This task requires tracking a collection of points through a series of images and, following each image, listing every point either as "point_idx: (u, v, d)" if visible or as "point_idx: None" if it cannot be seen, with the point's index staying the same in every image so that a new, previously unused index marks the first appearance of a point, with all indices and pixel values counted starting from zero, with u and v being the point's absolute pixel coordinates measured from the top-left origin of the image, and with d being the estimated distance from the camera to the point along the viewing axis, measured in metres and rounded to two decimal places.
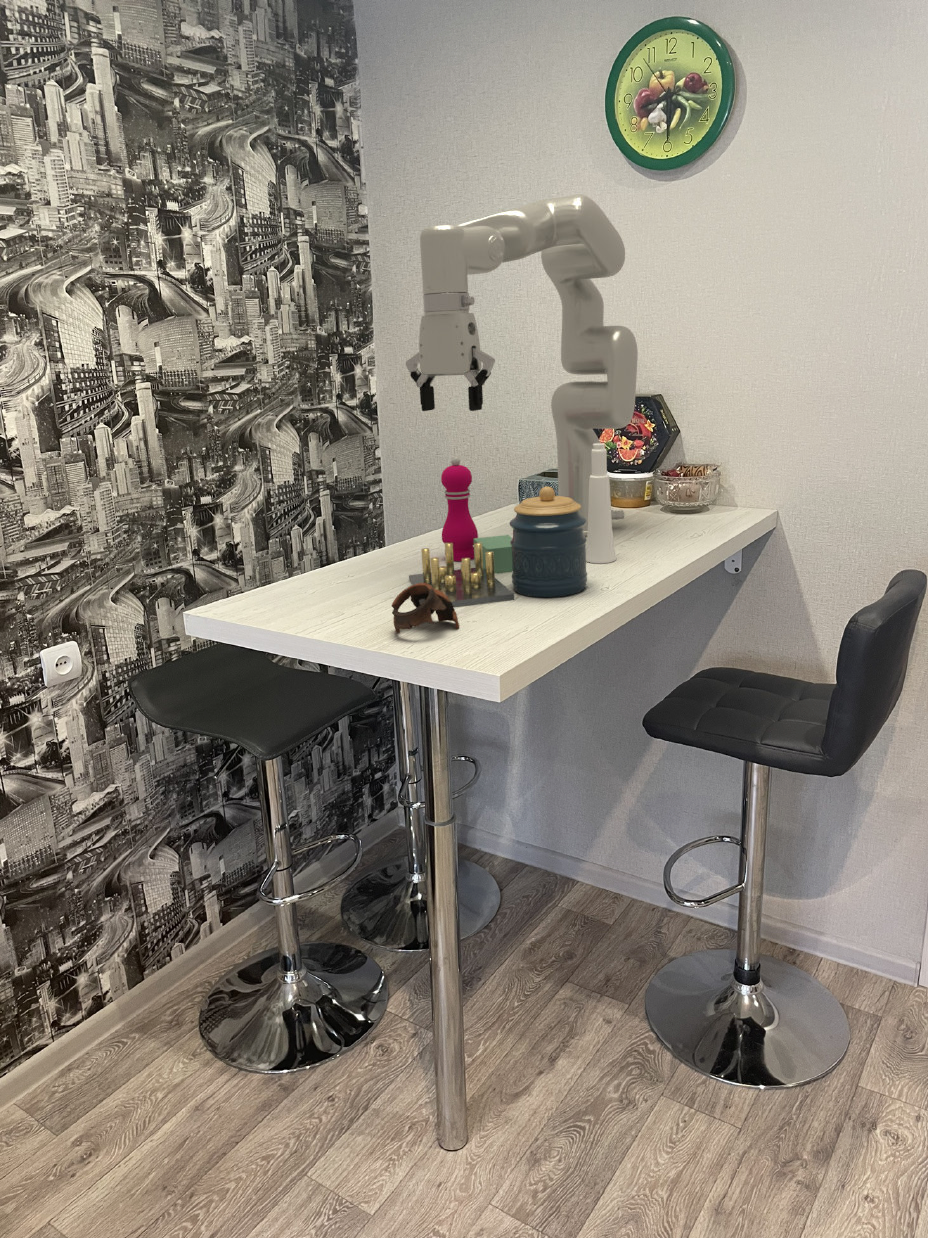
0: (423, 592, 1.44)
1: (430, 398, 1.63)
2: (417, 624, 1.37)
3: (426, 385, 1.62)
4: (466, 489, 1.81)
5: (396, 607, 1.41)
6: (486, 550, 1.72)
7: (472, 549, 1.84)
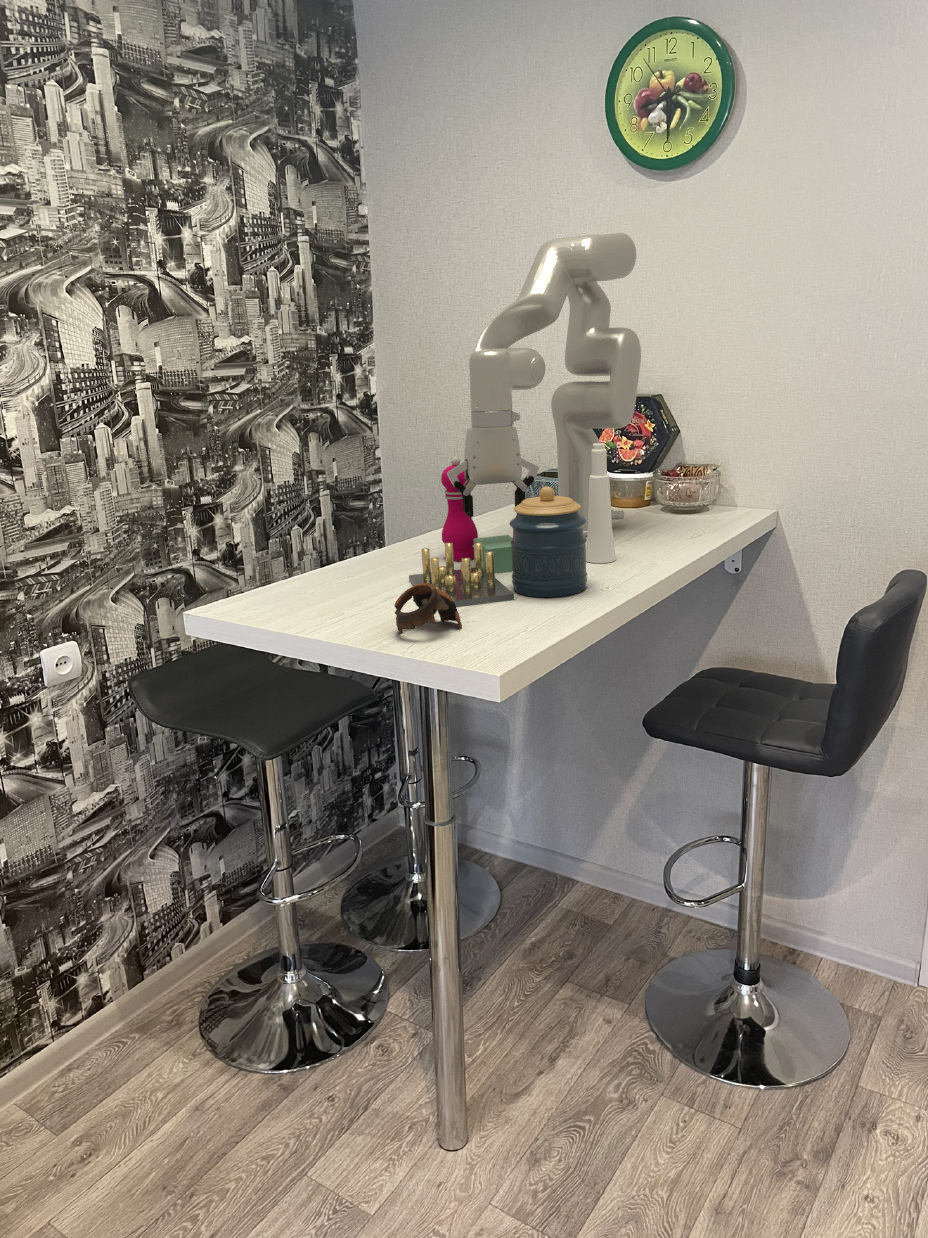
0: (426, 592, 1.44)
1: None
2: (420, 624, 1.37)
3: (470, 493, 1.72)
4: None
5: (399, 607, 1.41)
6: (486, 550, 1.72)
7: (472, 549, 1.84)
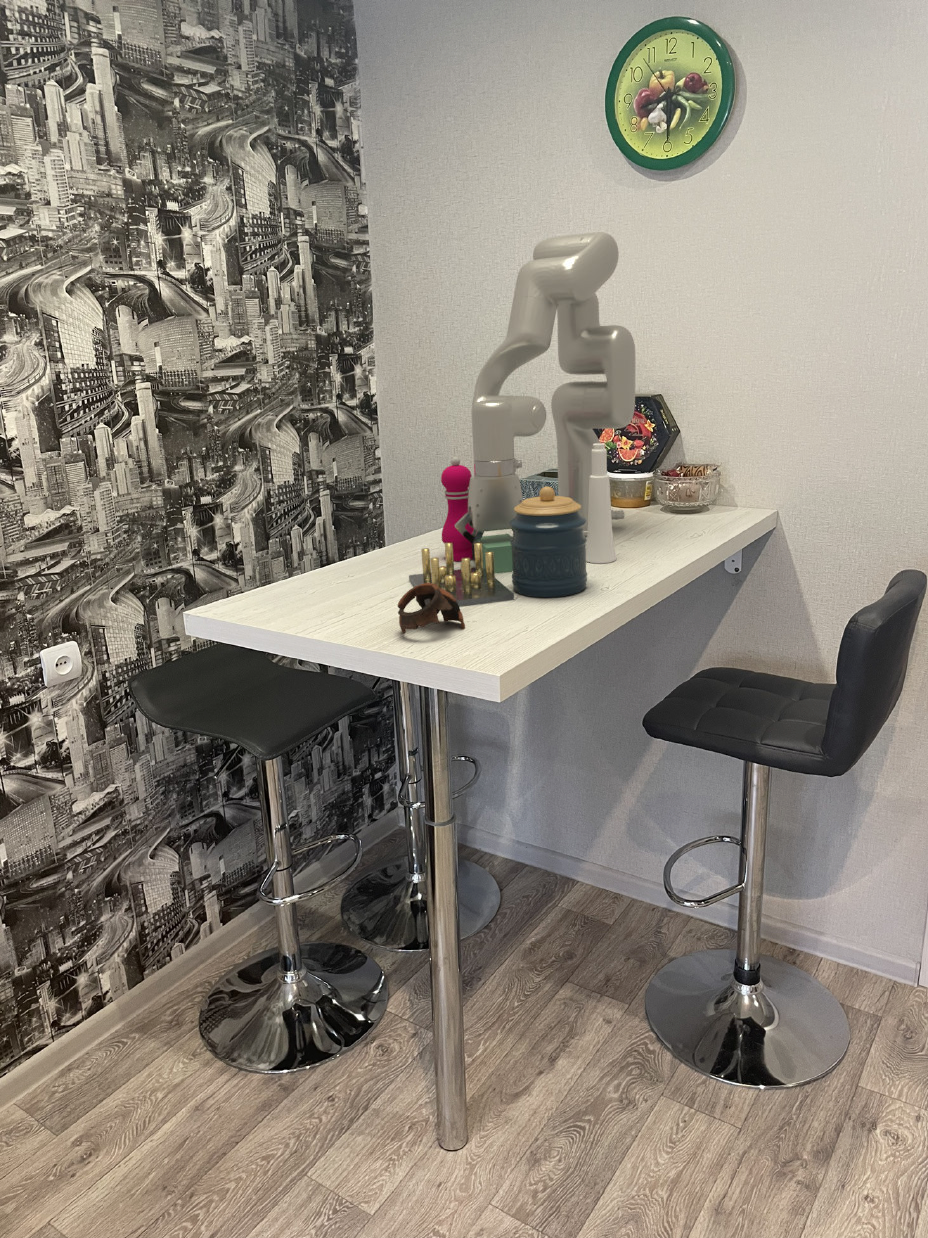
0: (428, 592, 1.43)
1: None
2: (423, 624, 1.37)
3: None
4: (466, 489, 1.81)
5: (402, 607, 1.41)
6: (486, 549, 1.72)
7: None
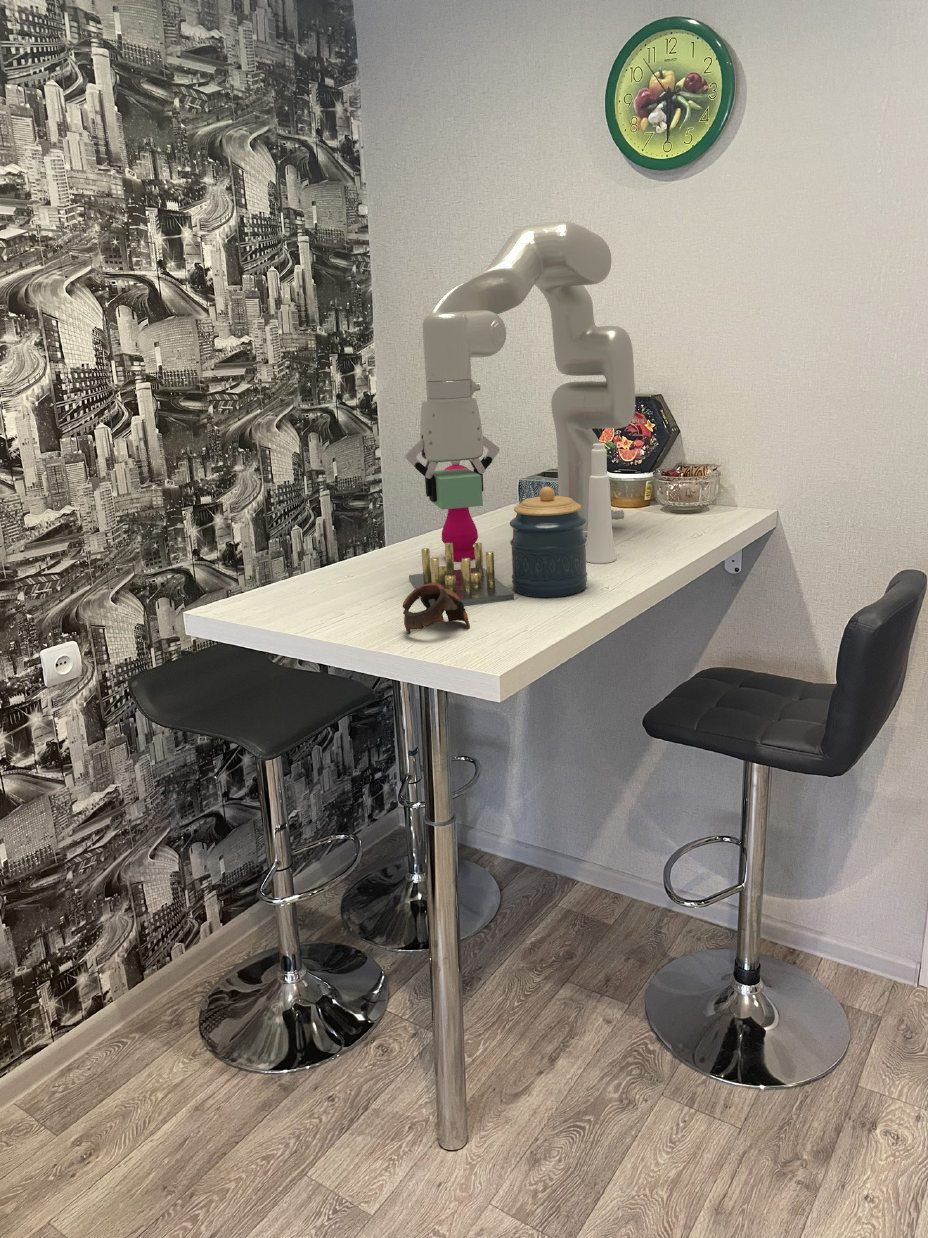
0: (433, 592, 1.43)
1: None
2: (429, 624, 1.37)
3: (433, 475, 1.57)
4: None
5: (407, 607, 1.41)
6: (439, 481, 1.53)
7: (472, 549, 1.84)
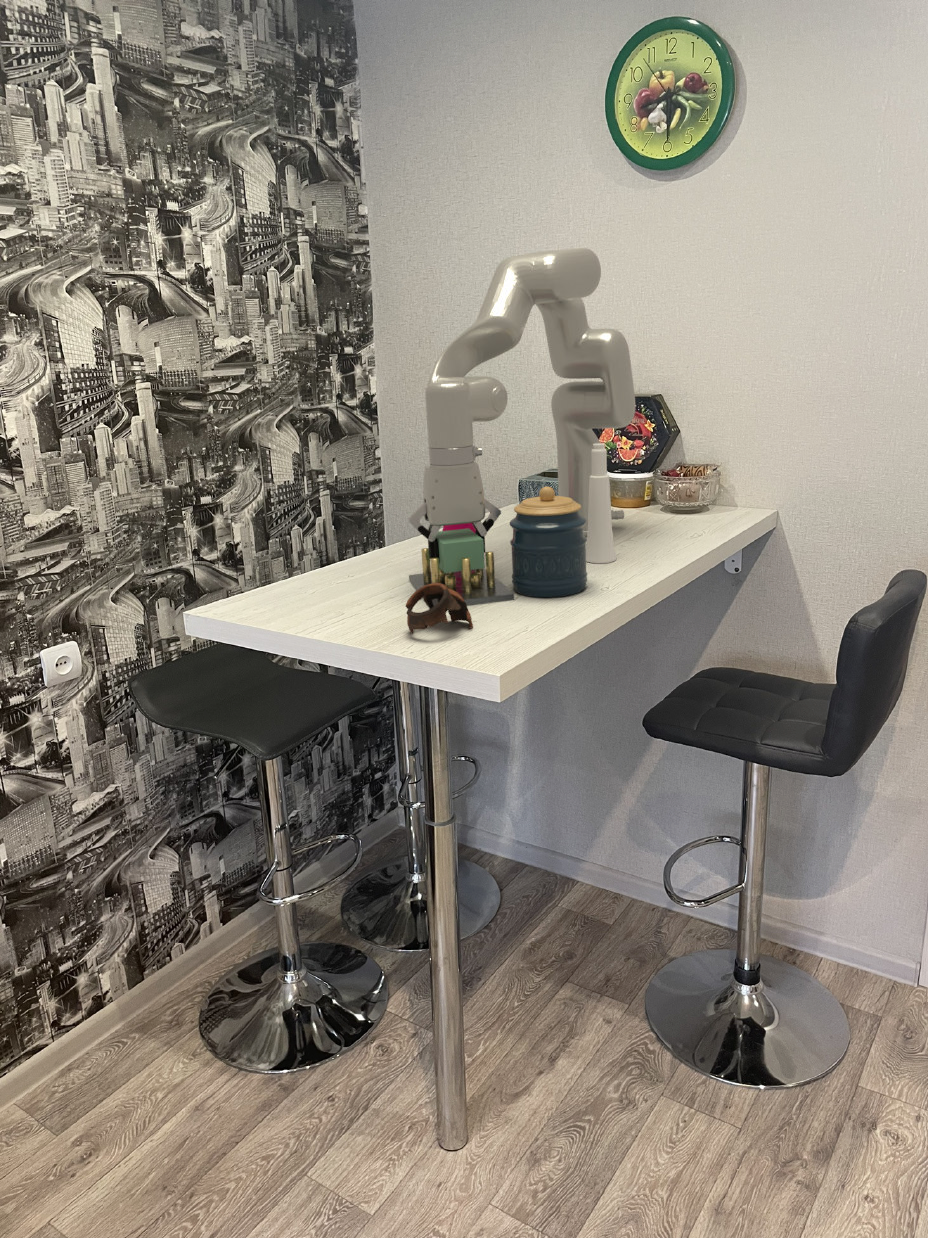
0: (436, 592, 1.43)
1: None
2: (432, 624, 1.37)
3: (435, 538, 1.60)
4: None
5: (410, 607, 1.41)
6: (442, 545, 1.56)
7: None
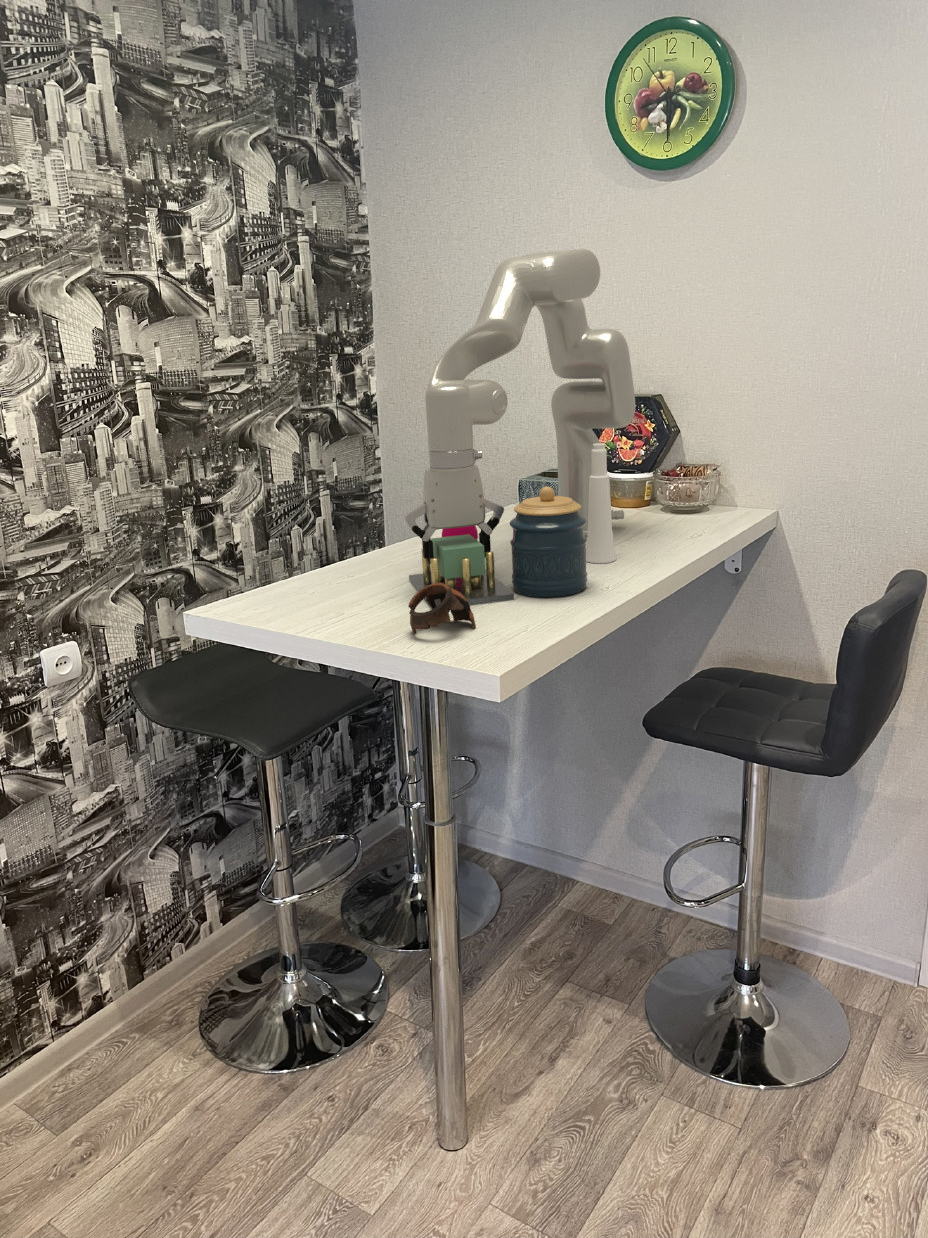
0: (439, 592, 1.43)
1: None
2: (435, 624, 1.37)
3: (430, 538, 1.59)
4: None
5: (413, 607, 1.41)
6: (443, 551, 1.56)
7: None
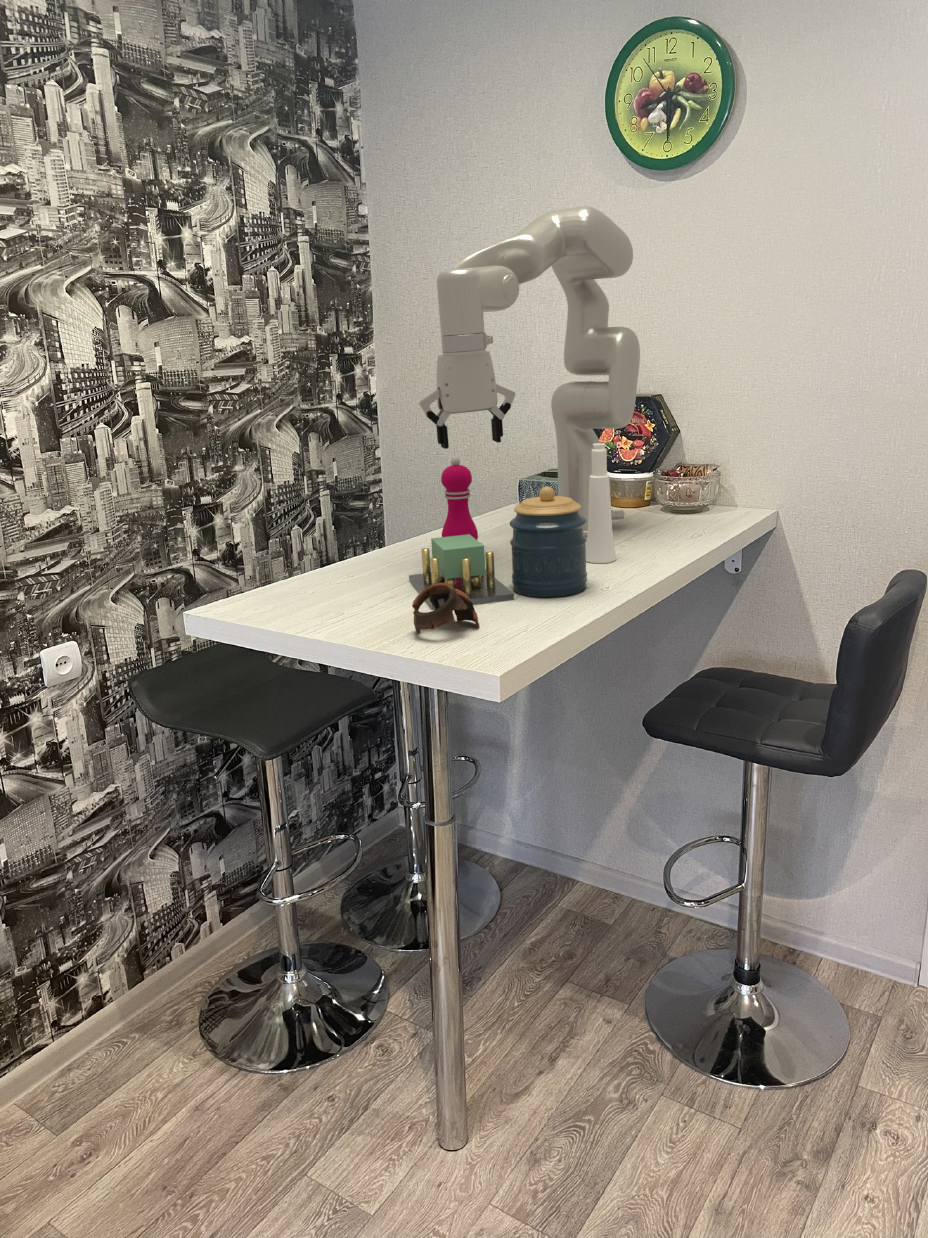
0: (442, 592, 1.43)
1: None
2: (439, 624, 1.37)
3: (444, 423, 1.64)
4: (466, 489, 1.81)
5: (416, 607, 1.41)
6: (443, 551, 1.56)
7: None
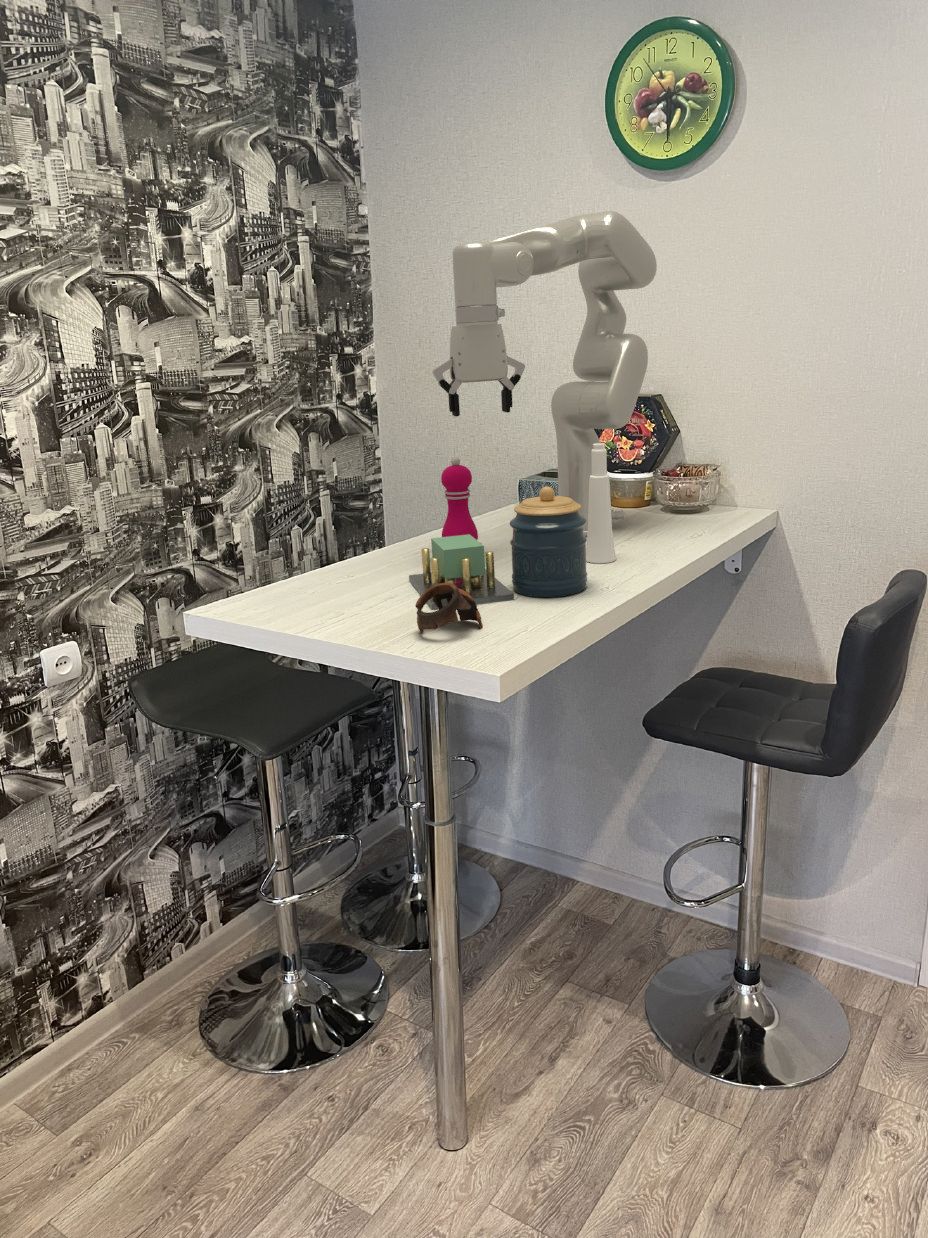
0: (446, 592, 1.43)
1: None
2: (443, 624, 1.37)
3: (456, 392, 1.71)
4: (466, 489, 1.81)
5: (420, 607, 1.40)
6: (443, 551, 1.56)
7: None
